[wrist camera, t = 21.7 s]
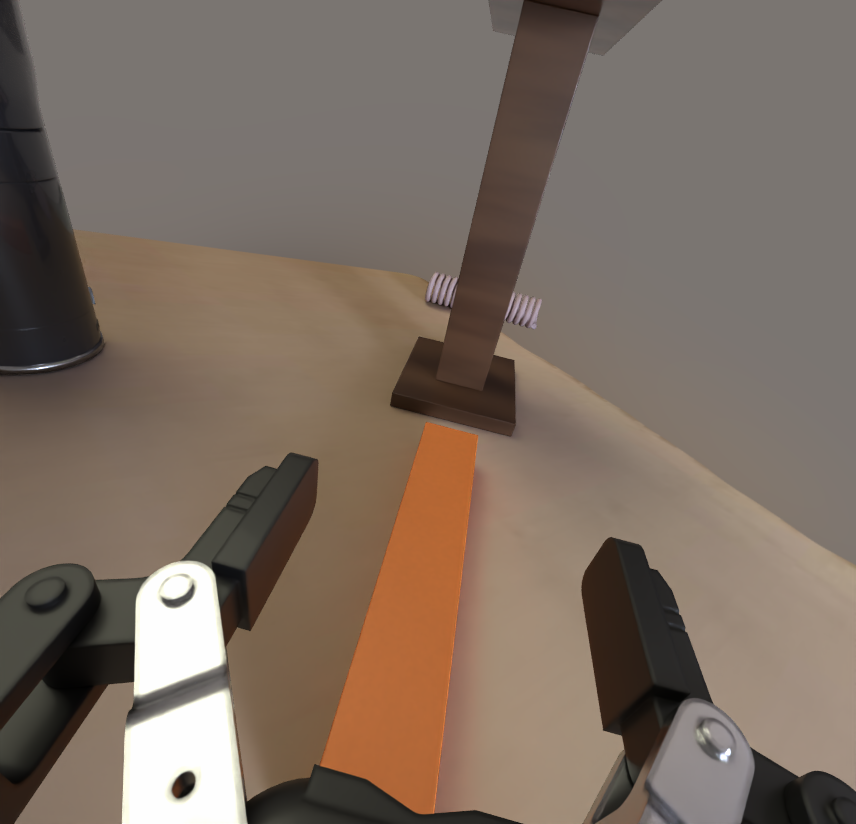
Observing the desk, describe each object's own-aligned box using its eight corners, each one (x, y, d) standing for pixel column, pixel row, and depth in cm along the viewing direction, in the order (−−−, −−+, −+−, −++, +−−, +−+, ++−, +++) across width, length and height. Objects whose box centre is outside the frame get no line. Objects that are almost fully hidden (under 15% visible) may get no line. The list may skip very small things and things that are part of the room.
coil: (544, 297, 65) (433, 268, 66) (546, 303, 61) (427, 272, 62) (534, 325, 67) (427, 297, 68) (536, 333, 63) (421, 303, 64)
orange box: (410, 901, 15) (425, 885, 13) (293, 865, 15) (294, 846, 14) (469, 462, 36) (478, 435, 34) (419, 449, 36) (426, 421, 34)
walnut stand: (511, 452, 38) (708, -47, 20) (383, 419, 38) (468, -99, 21) (510, 362, 54) (621, 36, 36) (420, 339, 54) (486, 6, 36)
